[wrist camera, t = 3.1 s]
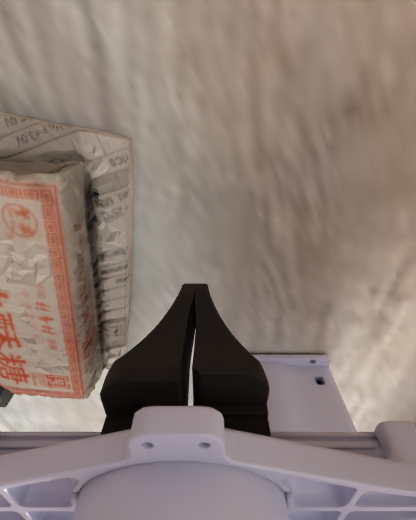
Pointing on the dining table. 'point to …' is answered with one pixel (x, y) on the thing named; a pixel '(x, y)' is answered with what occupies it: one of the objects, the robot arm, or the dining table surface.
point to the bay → (5, 396)
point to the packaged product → (63, 255)
